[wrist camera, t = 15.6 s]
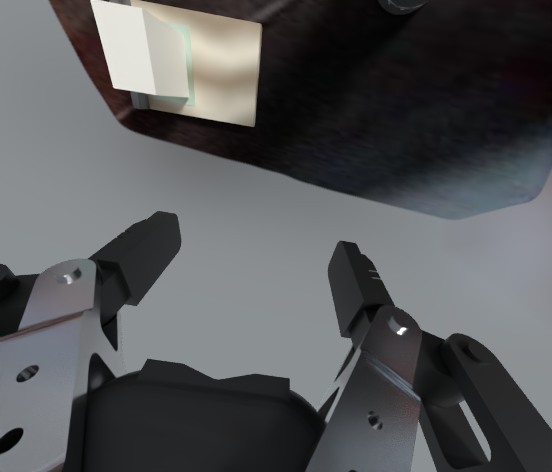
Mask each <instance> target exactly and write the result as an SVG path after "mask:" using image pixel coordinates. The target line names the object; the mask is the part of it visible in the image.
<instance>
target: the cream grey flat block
mask: <svg viewBox="0 0 552 472" xmlns="http://www.w3.org/2000/svg"><path fill="white" fill-rule="evenodd" d="M110 2H111V3H117V4H122V5H128V6H133V7H139V8H142V9H144V10H145V11H147V12H149V13H150V14H152V15H153V16H155V17H156V18H158V19H159V20H161V21H162V22H164V23H166V24H167V25H169V26H170V27H172V28H173V29H175V30H176V31H178V32H179V33H181V34H183V35H184V45H185V56H186V67H187V78H188V89H189V98H188V97H175V96H161V95H152V94H146V93H141V92H135V91H130V93H131V98H132V102H133V107H134V108H137V109H154V110H159V111H165V112H171V113H176V114H182V115H188V116H194V117H199V118H205V119H211V120H216V121H222V122H228V123H233V124H239V125H245V126H250V127H254V126H255V116H256V103H257V90H258V77H259V63H260V50H261V37H262V26H261V24H260V23H254V22H249V21H244V20H239V19H233V18H228V17H223V16H218V15H212V14H207V13H202V12H197V11H192V10H186V9H181V8H176V7H171V6H165V5H160V4H155V3H150V2H144V1H139V0H110Z"/></svg>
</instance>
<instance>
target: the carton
mask: <svg viewBox="0 0 552 472" xmlns="http://www.w3.org/2000/svg"><path fill="white" fill-rule="evenodd" d="M91 4H92V8H93V12H94V15H95V19H96V23H97V27H98V30H99V34H100V38H101V42H102V46H103V49H104V53H105V57H106V61H107V65H108V68H109V72H110V76H111V80H112V83H113V87H114V88H117V89H123V90H129V91H135V92H141V93H146V94H152V95H161V96H175V97H188V98H189V89H188V78H187V67H186V56H185V45H184V35H183V34H181V33H179V32H178V31H176V30H175V29H173V28H172V27H170V26H169V25H167V24H166V23H164V22H162V21H161V20H159V19H158V18H156V17H155V16H153V15H152V14H150V13H149V12H147V11H145V10H144V9H142V8H139V7H133V6H128V5H122V4H117V3H111V2H105V1H100V0H91Z"/></svg>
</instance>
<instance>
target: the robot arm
mask: <svg viewBox="0 0 552 472" xmlns="http://www.w3.org/2000/svg"><path fill="white" fill-rule="evenodd" d="M377 1H378V2H379V3H380V5H381V6H382V8H384V9H385V10H386V11H387V12H389V13H392V14H395V15H404V14H408V13H411V12H413V11H415V10H417V9H419V8H420V7H421V6H423V5H424V4H425V3H427V2H428V1H429V0H377ZM180 247H181V235H180V229H179V222H178V217H177V215H176V214H174V213H168V212H162V211H157V212H156V213H154V214H153V215H152V216H151V217H149V218H148V219H147V220H146V219H145V220H143V221H140V222H138V223H135V224H133V225H132V226H131V227H129V228H128V229H127V230H125V232H123V233H121V234H120V235H119V236H117V238H115V239H113V240H112V241H111V242H109V243H108V244H107V245H105V246H104V247H103V248H101V249H100V250H99V251H98V252H96V253H95V254H93V255H92V256H91V257H90V258H88V259H74V260H68V261H64V262H61V263H58V264H56V265H54V266H52V267H50V268H48V269H46V270H45V271H44V272H42V273H41V274H32V275H19V276H15V275H14V274H13V273H12V271H11V270H10V269H9V268H8V267H7V266H6V265H3V264H0V472H410V471H411V464H412V458H413V451H414V445H415V439H416V432H417V425H418V420H419V423H420V425H421V428H422V431H423V433H424V436H425V439H426V442H427V444H428V447H429V450H430V453H431V456H432V458H433V461H434V464H435V467H436V470H437V472H552V429H551V428H550V427H549V425H548V424H547V423H546V422H545V420H544V419H543V418H542V416H541V415H540V414H539V413H538V411H537V410H536V408H535V407H534V406H533V405H532V403H531V402H530V401H529V399H527V397H526V395H525V394H524V393H523V391H522V390H521V389H520V388H519V387H518V385H517V384H516V382H515V381H514V380H513V378H512V377H511V376H510V375H509V373H508V372H507V371H506V369H505V368H504V367H503V366H502V364H501V363H500V362H499V360H498V359H497V358H496V357H495V355H494V354H493V353H492V352H491V351H490V350H488V349H487V348H486V347H485V346H484V345H482V344H481V343H479V342H478V341H476V340H475V339H473V338H471V337H469V336H466V335H464V334H459V333H455V334H452V335H451V336H450V337H448V338H447V339H446V340H444V339H442V338H439V337H437V336H435V335H432V334H430V333H428V332H425V331H423V330H421V329H420V327H419V325H418V324H417V322H416V321H415V320H414V319H413V318H412V317H411V316H410V315H409V314H408V313H407V312H405V311H404V310H402V309H400V308H398V307H395V305H394V303H393V301H392V299H391V297H390V295H389V294H388V291H387V290H386V288H385V286H384V284H383V282H382V280H380V276H379V274H378V273H377V270H376V268H375V266H374V265H373V263H372V261H370V260H369V259H368V258H367V257H366V256H365V255H363V254H361V253H360V250H359V248H358V246H357V244H356V243H352V242H346V241H339V242H338V243H337V246H336V248H335V251H334V253H333V256H332V258H331V261H330V263H329V267H328V278H329V282H330V287H331V291H332V296H333V300H334V305H335V310H336V315H337V319H338V324H339V329H340V333H341V337H346V338H351V340H352V343H353V345H352V346H351V348H350V350H349V351H348V353H347V355H346V357H345V359H344V361H343V363H342V365H341V367H340V369H339V370H338V372H337V374H336V376H335V378H334V380H333V382H332V383H331V385H330V387H329V389H328V390H327V392H326V394H325V395H324V397H323V398H322V400H321V402H320V403H319V405H318V407H317V409H316V410H315V409H314V407H312V405H311V404H310V403H309V402H307V401H306V400H305V399H304V398H303V397H302V396H300V395H299V394H297V393H295V392H294V391H292V390H290V388H289V387H290V379H289V378H282V377H274V376H268V375H261V374H251V375H245V376H239V377H233V378H226V379H220V380H217V379H213V378H211V377H209V376H207V375H205V374H203V373H201V372H199V371H197V370H194V369H193V368H190V367H189V366H187V365H185V364H181V363H173V362H167V361H160V360H152V359H147V361H146V362H145V364H144V366H143V368H142V369H141V370H139V371H135V372H131V373H128V374H127V372H126V368H125V364H124V361H123V355H122V332H121V313H120V311H119V310H120V308H121V307H122V306H123V305H124V304H127V305H133V306H137V305H138V304H139V302H140V301H141V300H142V298H143V297H144V296H145V294H146V293H147V292H148V290H149V289H150V288H151V287H152V285H153V284H154V283H155V281H156V280H157V279H158V277H159V276H160V275H161V274H162V272H163V271H164V270H165V268H166V267H167V266H168V265H169V263H170V262H171V261H172V259H173V258H174V257H175V255H176V254H177V253H178V251H179V249H180ZM464 400H465V401H466V403H467V404H468V406H469V408H470V410H471V412H472V413H473V415H474V417H475V419H476V421H477V423H478V425H479V426H480V428H481V430H482V432H483V434H484V436H485V437H486V439H487V441H488V444H489V446H490V450H491V460H490V462H489V461H488V459H487V457H486V455H485V453H484V451H483V449H482V448H481V446H480V444H479V442H478V440H477V438H476V436H475V434H474V432H473V430H472V429H471V426H470V424H469V422H468V421H467V419H466V417H465V415H464V413H463V411H462V409H461V407H460V405H459V403H460V402H462V401H464Z"/></svg>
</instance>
